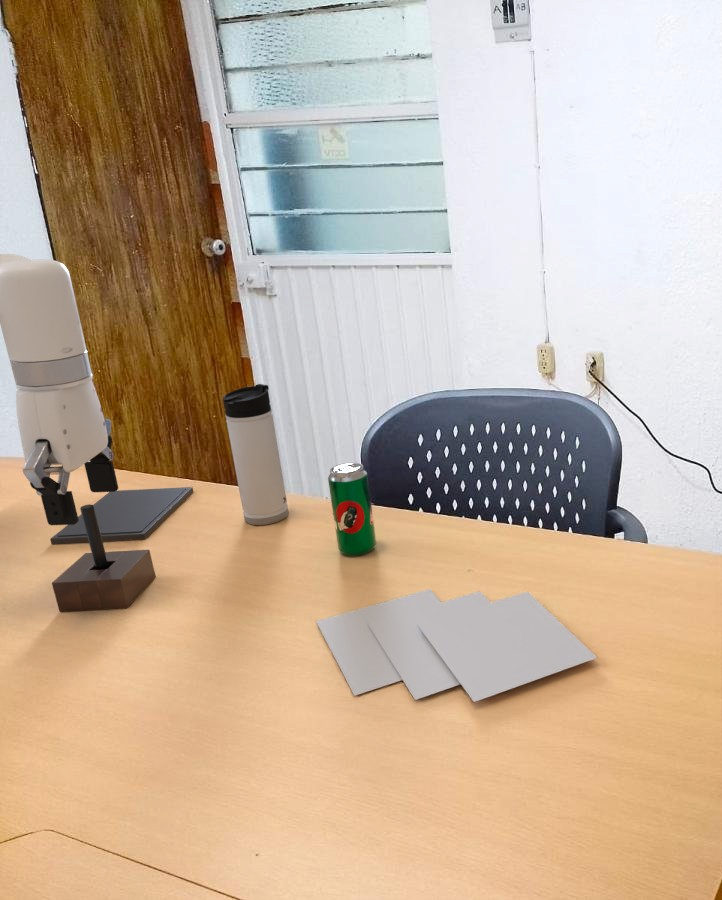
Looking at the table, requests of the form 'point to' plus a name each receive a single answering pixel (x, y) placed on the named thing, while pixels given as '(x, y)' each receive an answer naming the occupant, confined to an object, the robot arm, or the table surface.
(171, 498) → the tablet
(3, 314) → the robot arm
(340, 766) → the table surface
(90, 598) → the holder
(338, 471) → the soda can
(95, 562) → the stylus
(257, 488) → the travel mug
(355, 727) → the table surface
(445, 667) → the paper stack
